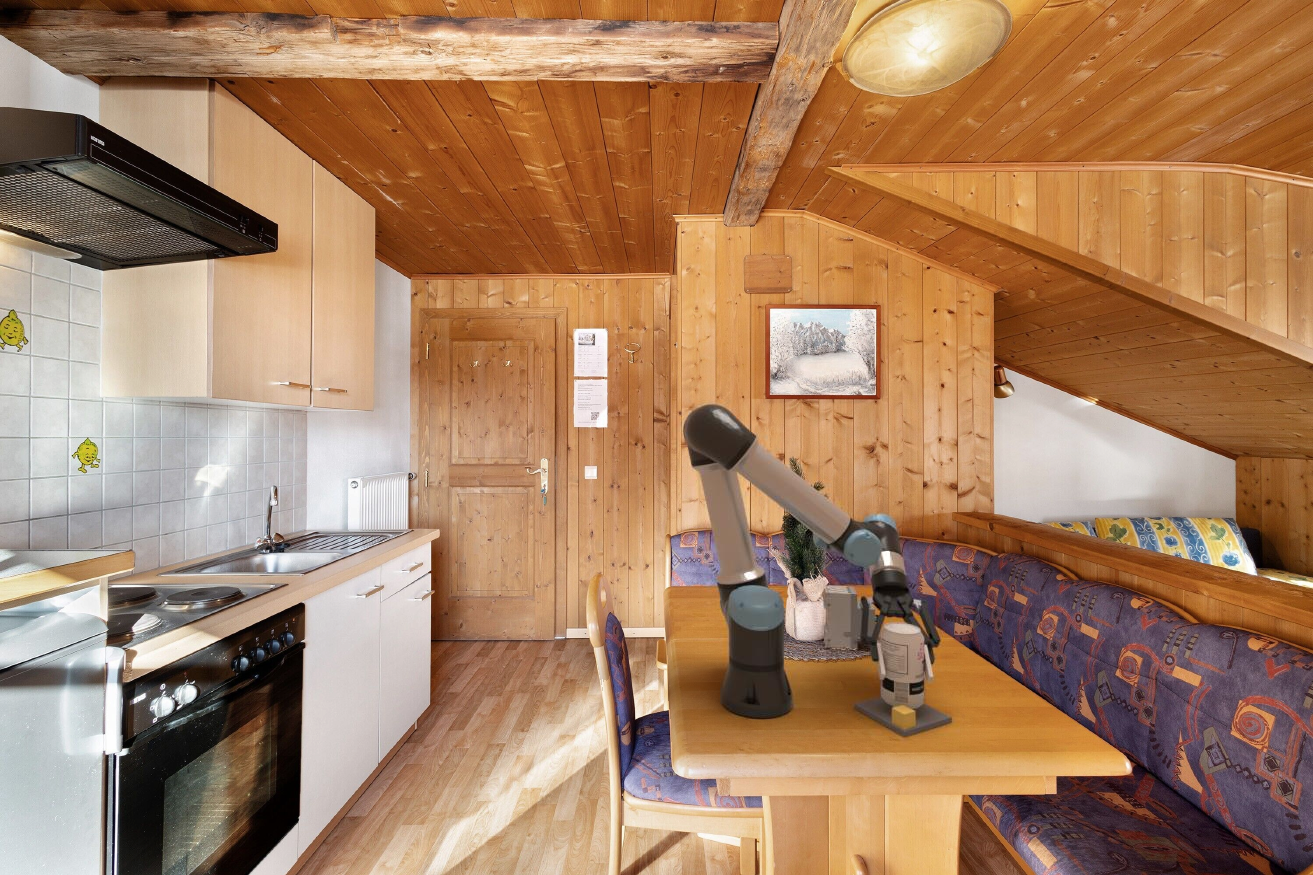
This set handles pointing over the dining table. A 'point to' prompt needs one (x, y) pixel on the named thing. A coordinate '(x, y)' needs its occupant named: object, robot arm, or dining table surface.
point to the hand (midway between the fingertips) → (906, 677)
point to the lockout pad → (886, 716)
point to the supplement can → (903, 665)
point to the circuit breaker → (844, 617)
